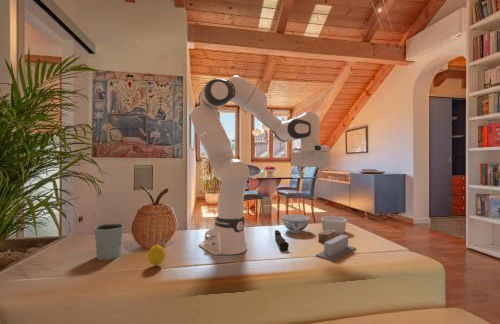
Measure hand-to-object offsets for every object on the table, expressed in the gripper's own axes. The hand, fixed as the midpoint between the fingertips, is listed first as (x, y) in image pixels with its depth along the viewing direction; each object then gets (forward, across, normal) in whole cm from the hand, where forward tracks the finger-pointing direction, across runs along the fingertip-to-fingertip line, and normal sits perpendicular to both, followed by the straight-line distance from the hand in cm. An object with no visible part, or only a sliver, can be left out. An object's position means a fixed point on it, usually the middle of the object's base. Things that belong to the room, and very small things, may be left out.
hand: (309, 176), depth 130 cm
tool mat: (+31, +17, -6) cm, 35 cm away
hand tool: (+31, -8, -13) cm, 35 cm away
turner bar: (+30, +17, -5) cm, 35 cm away
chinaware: (+31, -14, +10) cm, 36 cm away
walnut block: (+29, +6, +2) cm, 29 cm away
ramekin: (+31, 0, +24) cm, 39 cm away
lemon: (+31, -24, -65) cm, 76 cm away
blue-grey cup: (+32, -47, -73) cm, 92 cm away
